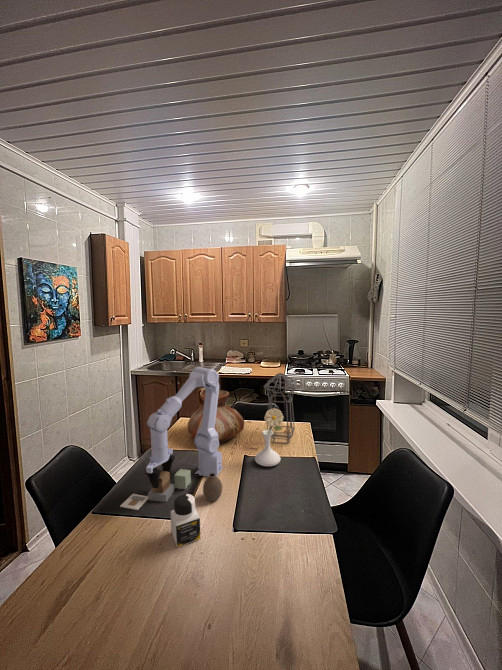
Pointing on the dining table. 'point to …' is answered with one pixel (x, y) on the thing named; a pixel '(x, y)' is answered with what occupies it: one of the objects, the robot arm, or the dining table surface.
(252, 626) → the dining table surface
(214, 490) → the brown coconut
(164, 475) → the walnut block
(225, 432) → the jug
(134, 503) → the card
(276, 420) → the flower in vase
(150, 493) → the grey square block
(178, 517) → the medicine bottle
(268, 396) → the geometric lantern
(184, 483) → the sage block
